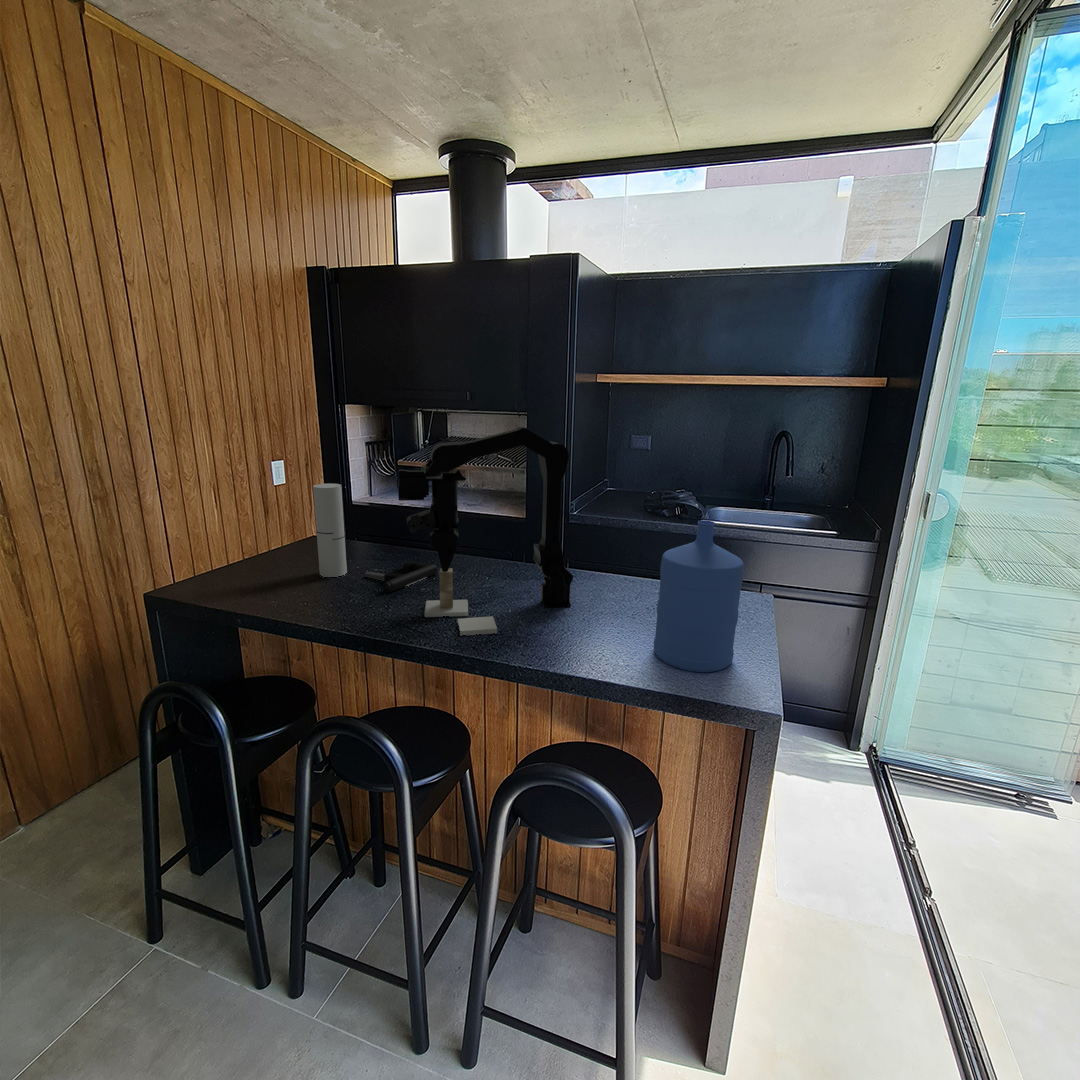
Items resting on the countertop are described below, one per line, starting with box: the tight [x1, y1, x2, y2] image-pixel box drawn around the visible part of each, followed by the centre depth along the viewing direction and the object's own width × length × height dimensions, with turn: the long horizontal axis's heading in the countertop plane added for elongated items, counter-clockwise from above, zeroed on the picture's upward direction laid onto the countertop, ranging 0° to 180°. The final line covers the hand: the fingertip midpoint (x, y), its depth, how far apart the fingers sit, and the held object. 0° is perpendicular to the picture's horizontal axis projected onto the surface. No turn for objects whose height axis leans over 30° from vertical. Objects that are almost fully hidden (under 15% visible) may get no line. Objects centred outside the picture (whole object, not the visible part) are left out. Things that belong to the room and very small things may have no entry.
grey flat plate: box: [424, 599, 469, 618], centre depth 135 cm, size 10×8×1 cm
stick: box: [438, 567, 454, 609], centre depth 133 cm, size 3×3×9 cm
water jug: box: [653, 519, 745, 673], centre depth 111 cm, size 16×16×28 cm
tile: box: [457, 615, 498, 637], centre depth 125 cm, size 8×2×7 cm
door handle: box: [364, 561, 439, 593], centre depth 156 cm, size 3×20×16 cm
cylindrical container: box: [312, 483, 348, 578], centre depth 155 cm, size 7×7×25 cm
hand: (445, 565), depth 132 cm, fingers open, 9 cm apart
